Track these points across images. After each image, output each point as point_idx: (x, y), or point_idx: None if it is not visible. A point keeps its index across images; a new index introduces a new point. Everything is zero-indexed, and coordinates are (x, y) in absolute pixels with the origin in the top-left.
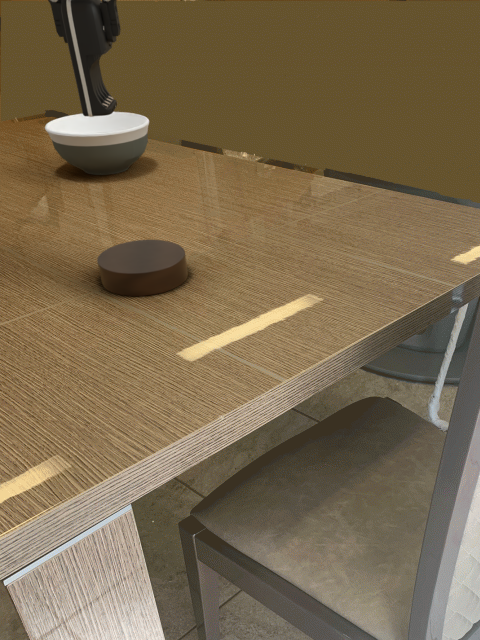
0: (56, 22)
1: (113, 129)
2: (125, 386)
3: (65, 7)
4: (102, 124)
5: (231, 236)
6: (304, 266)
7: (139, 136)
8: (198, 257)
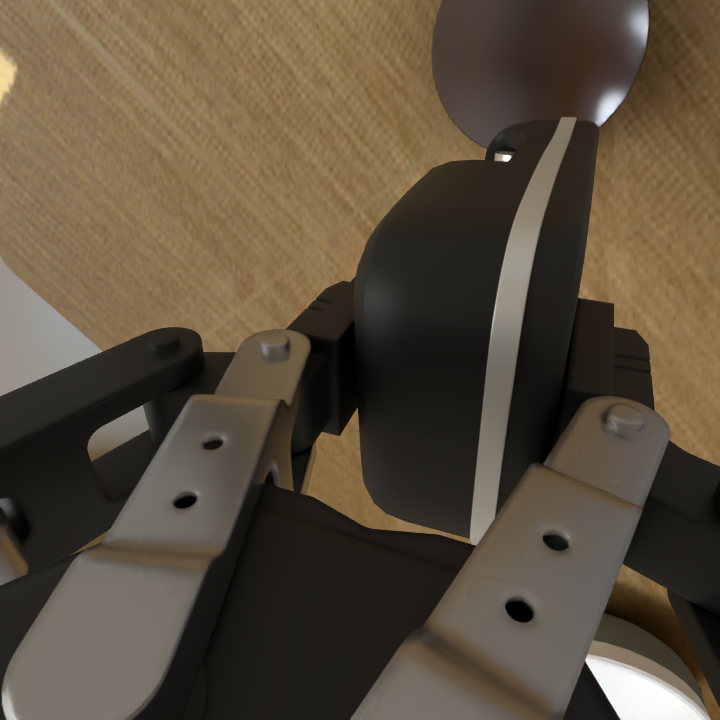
0: (638, 367)
1: None
2: None
3: (544, 257)
4: None
5: (362, 248)
6: (227, 69)
7: None
8: (423, 149)
